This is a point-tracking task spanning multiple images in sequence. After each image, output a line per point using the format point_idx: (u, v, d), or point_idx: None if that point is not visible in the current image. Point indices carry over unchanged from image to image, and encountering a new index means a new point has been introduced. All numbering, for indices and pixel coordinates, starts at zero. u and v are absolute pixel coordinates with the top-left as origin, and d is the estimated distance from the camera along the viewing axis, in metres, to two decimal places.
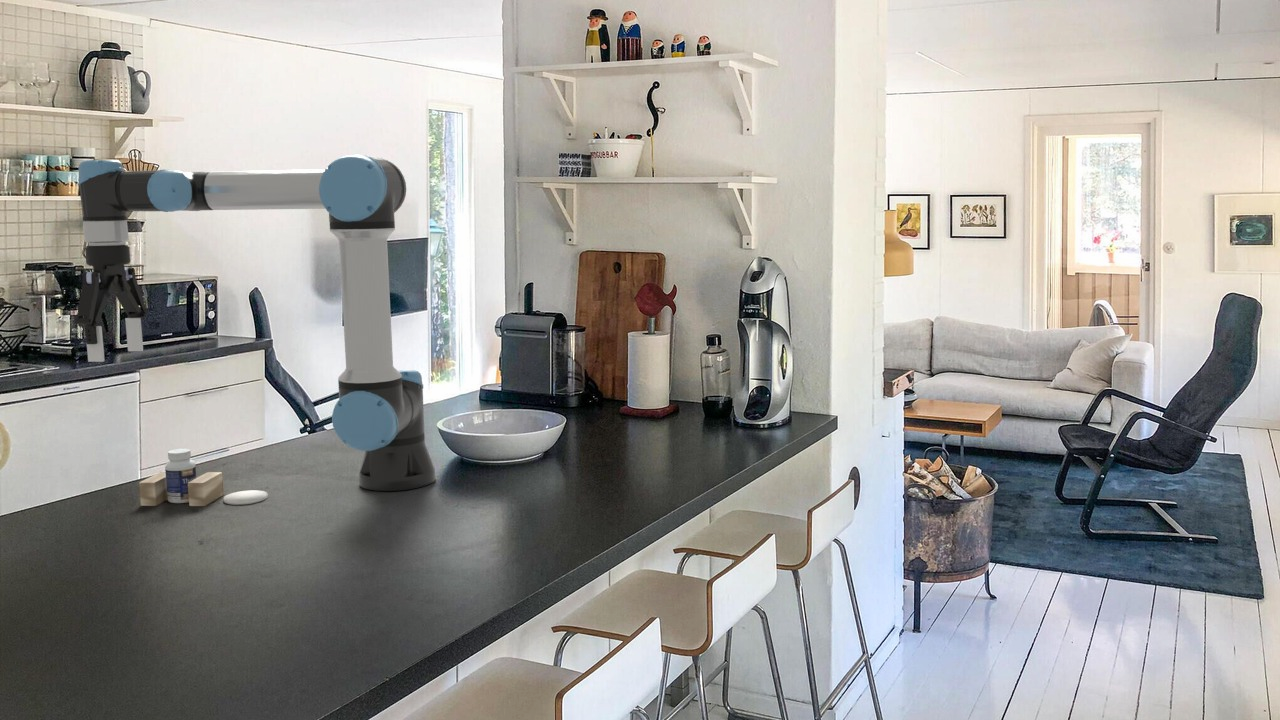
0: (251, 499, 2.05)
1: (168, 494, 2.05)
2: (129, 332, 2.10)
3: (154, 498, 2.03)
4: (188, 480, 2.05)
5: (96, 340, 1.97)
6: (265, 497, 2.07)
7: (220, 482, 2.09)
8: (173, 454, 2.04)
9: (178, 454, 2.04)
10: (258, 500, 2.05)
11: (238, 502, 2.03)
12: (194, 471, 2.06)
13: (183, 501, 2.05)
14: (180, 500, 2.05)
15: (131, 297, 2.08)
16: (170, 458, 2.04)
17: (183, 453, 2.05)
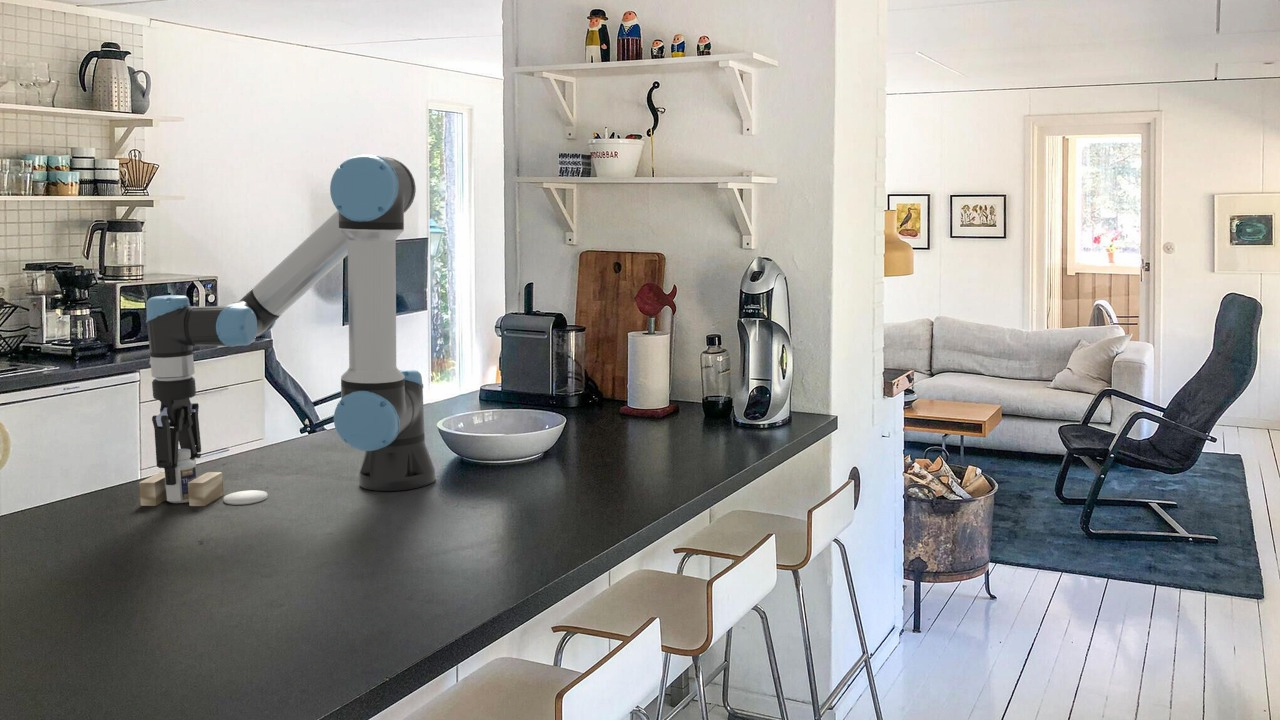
0: (251, 499, 2.05)
1: None
2: None
3: (154, 498, 2.03)
4: (188, 480, 2.05)
5: (175, 481, 2.03)
6: (265, 497, 2.07)
7: (220, 482, 2.09)
8: None
9: None
10: (258, 500, 2.05)
11: (238, 502, 2.03)
12: (194, 471, 2.06)
13: (183, 501, 2.05)
14: None
15: (191, 433, 2.08)
16: None
17: (183, 453, 2.04)
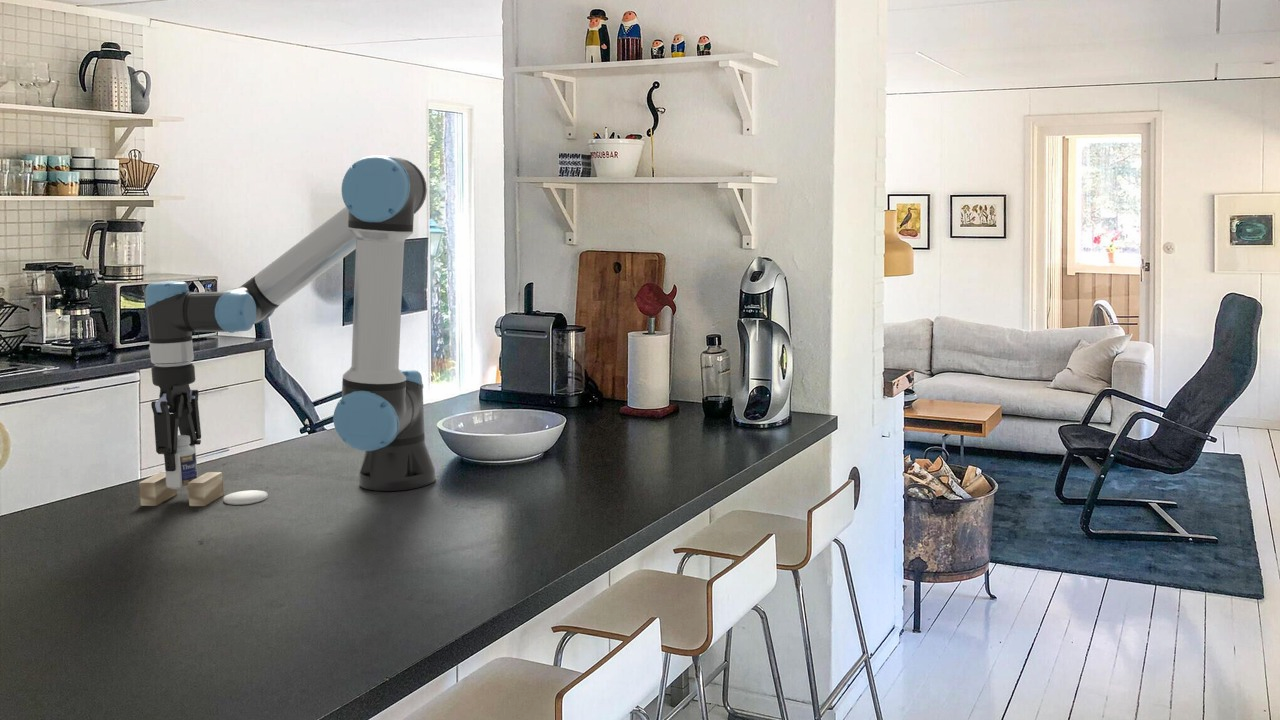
0: (251, 499, 2.05)
1: None
2: None
3: (154, 498, 2.03)
4: (188, 466, 2.05)
5: (175, 467, 2.03)
6: (265, 497, 2.07)
7: (220, 482, 2.09)
8: None
9: (177, 440, 2.04)
10: (258, 500, 2.05)
11: (238, 502, 2.03)
12: (194, 457, 2.06)
13: (183, 487, 2.05)
14: None
15: (190, 420, 2.08)
16: None
17: (183, 439, 2.04)
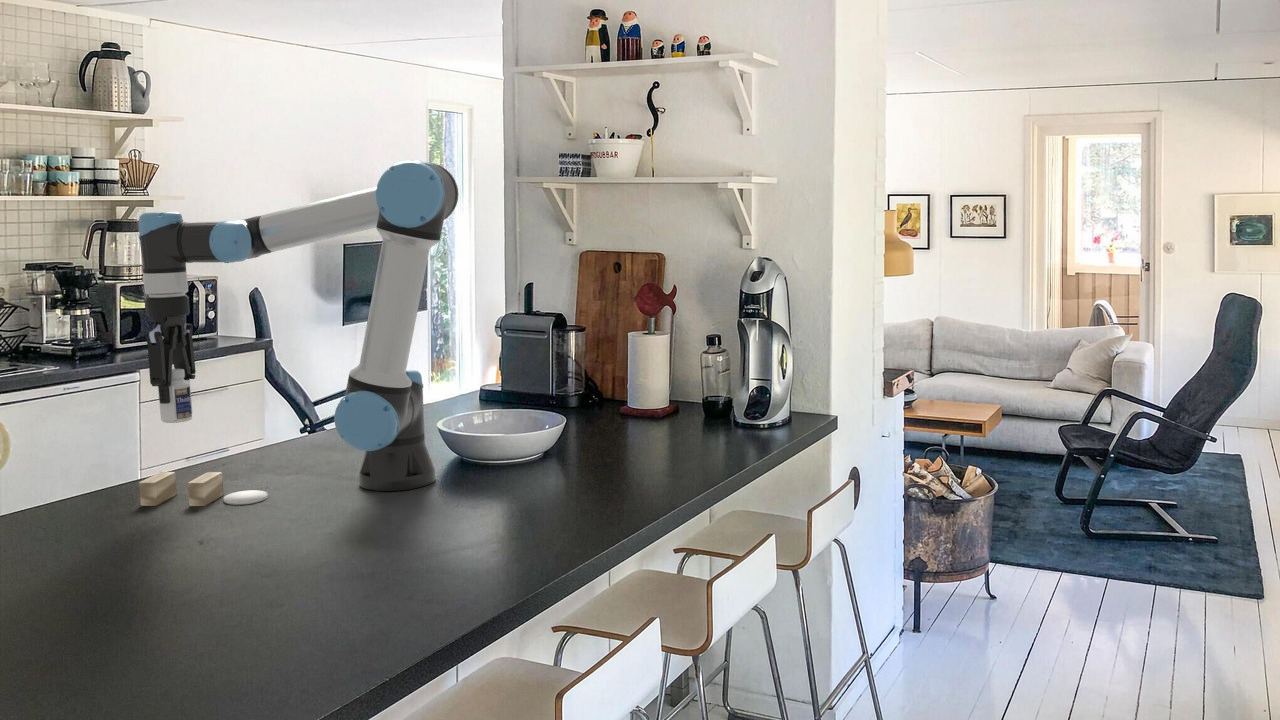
0: (251, 499, 2.05)
1: None
2: None
3: (154, 498, 2.03)
4: (182, 399, 2.03)
5: (169, 400, 2.01)
6: (265, 497, 2.07)
7: (220, 482, 2.09)
8: None
9: None
10: (258, 500, 2.05)
11: (238, 502, 2.03)
12: (188, 391, 2.04)
13: (177, 421, 2.02)
14: (174, 420, 2.02)
15: (185, 354, 2.06)
16: None
17: (177, 372, 2.02)
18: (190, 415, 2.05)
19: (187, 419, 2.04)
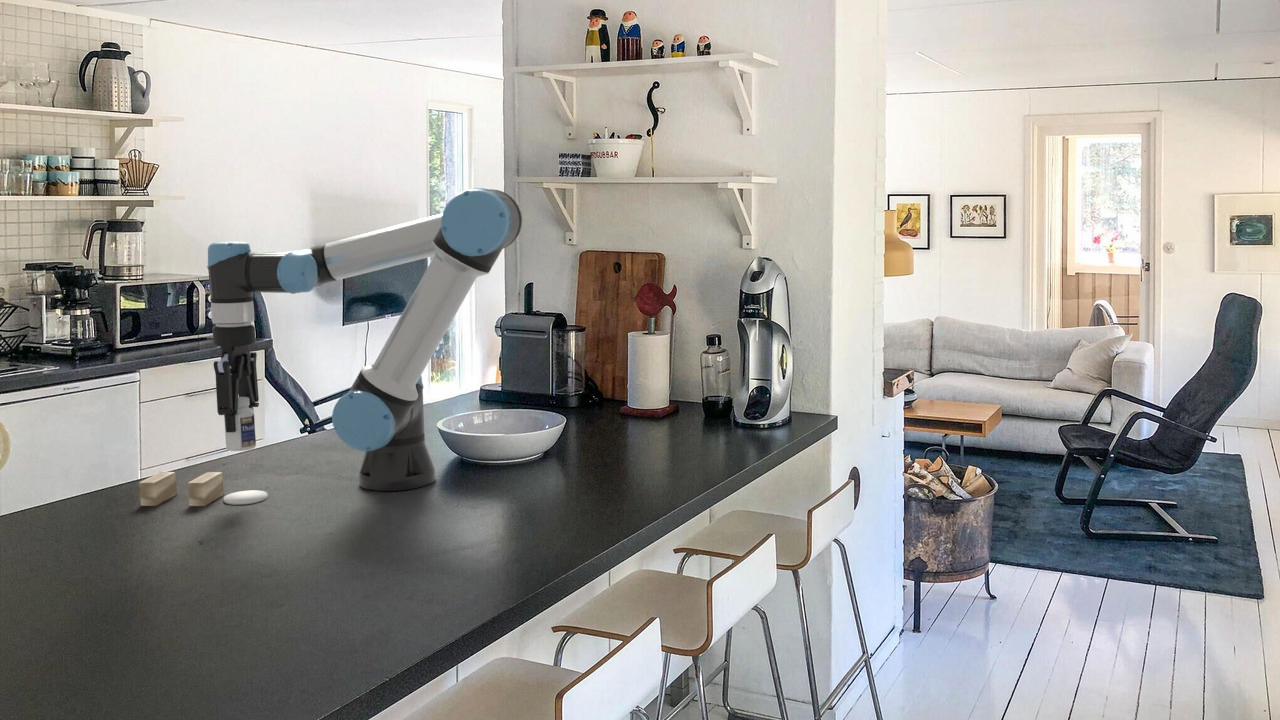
0: (251, 499, 2.05)
1: None
2: None
3: (154, 498, 2.03)
4: (247, 428, 2.04)
5: (235, 428, 2.02)
6: (265, 497, 2.07)
7: (220, 482, 2.09)
8: None
9: None
10: (258, 500, 2.05)
11: (238, 502, 2.03)
12: (253, 419, 2.05)
13: (242, 449, 2.04)
14: None
15: (249, 382, 2.07)
16: None
17: (242, 400, 2.03)
18: (254, 443, 2.06)
19: (252, 447, 2.05)
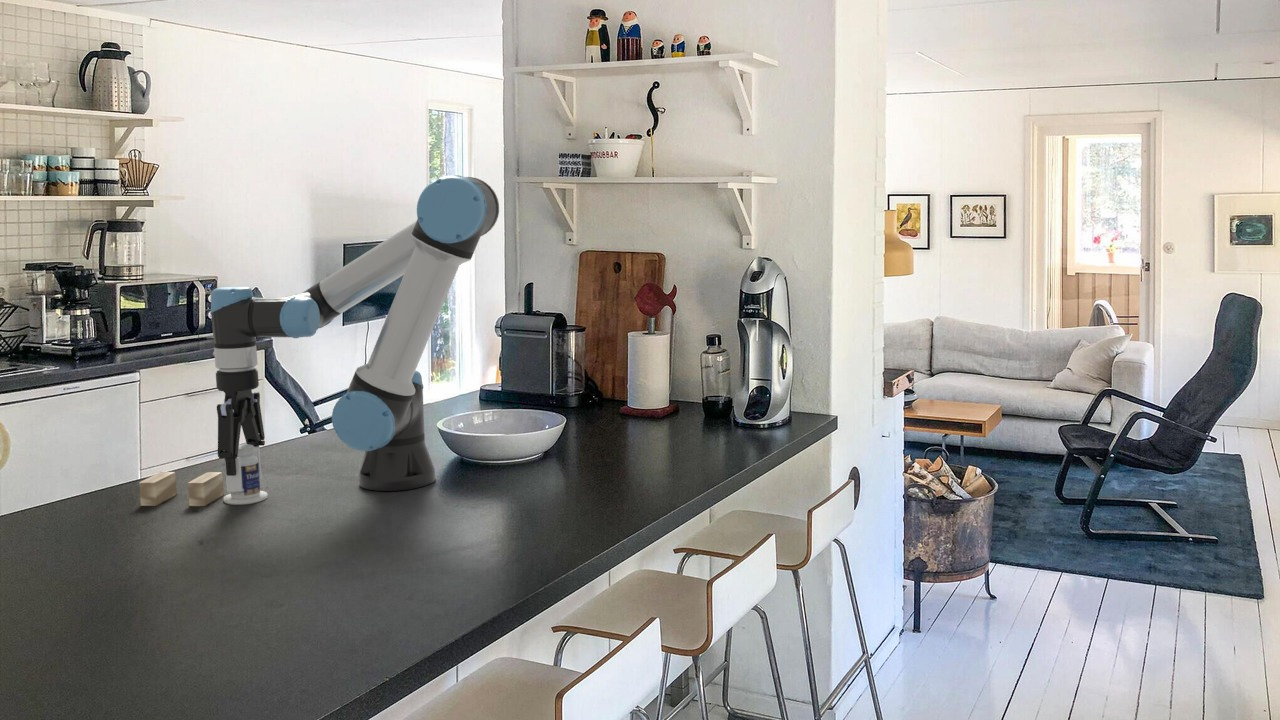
0: (251, 499, 2.05)
1: None
2: None
3: (154, 498, 2.03)
4: (252, 476, 2.05)
5: (235, 472, 2.02)
6: (265, 497, 2.07)
7: (220, 482, 2.09)
8: None
9: (241, 450, 2.04)
10: (258, 500, 2.05)
11: (238, 502, 2.03)
12: (257, 467, 2.06)
13: (246, 497, 2.05)
14: (244, 496, 2.05)
15: (254, 423, 2.09)
16: None
17: (247, 449, 2.05)
18: (259, 490, 2.07)
19: (256, 495, 2.06)
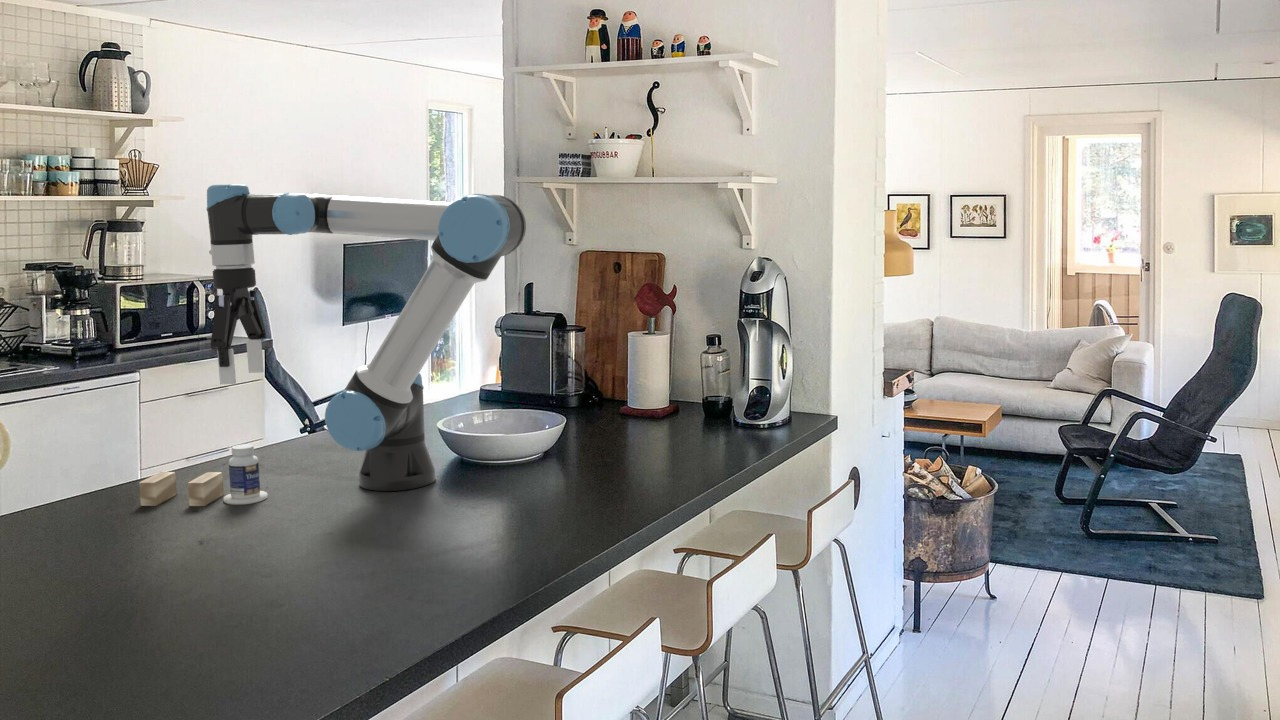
0: (251, 499, 2.05)
1: (231, 489, 2.05)
2: (250, 353, 2.12)
3: (154, 498, 2.03)
4: (252, 476, 2.05)
5: (229, 363, 1.98)
6: (265, 497, 2.07)
7: (220, 482, 2.09)
8: (237, 449, 2.04)
9: (242, 450, 2.04)
10: (258, 500, 2.05)
11: (238, 502, 2.03)
12: (257, 467, 2.06)
13: (246, 497, 2.05)
14: (244, 496, 2.05)
15: (254, 319, 2.09)
16: (234, 453, 2.04)
17: (247, 449, 2.05)
18: (259, 490, 2.07)
19: (256, 495, 2.06)
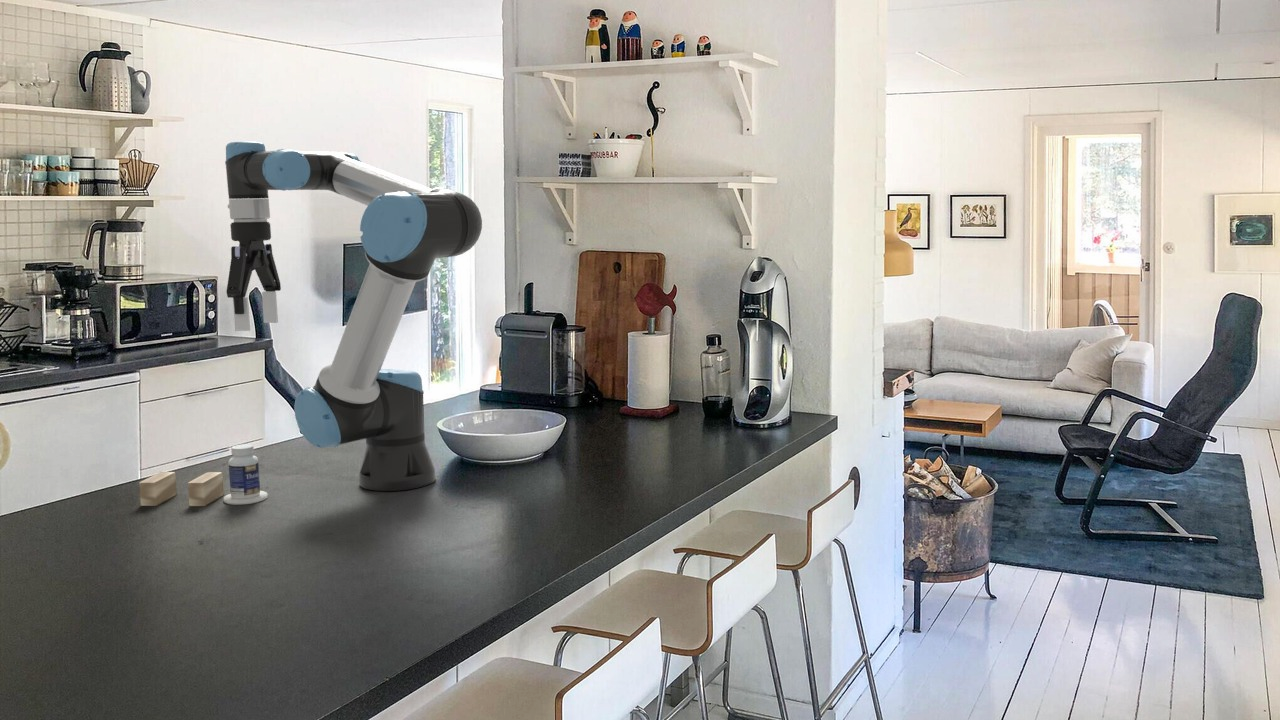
0: (251, 499, 2.05)
1: (231, 490, 2.05)
2: (266, 304, 2.23)
3: (154, 498, 2.03)
4: (251, 476, 2.05)
5: (243, 311, 2.10)
6: (265, 497, 2.07)
7: (220, 482, 2.09)
8: (237, 449, 2.04)
9: (241, 450, 2.04)
10: (258, 500, 2.05)
11: (238, 502, 2.03)
12: (257, 467, 2.06)
13: (246, 497, 2.05)
14: (243, 496, 2.05)
15: (269, 271, 2.21)
16: (234, 453, 2.04)
17: (247, 449, 2.05)
18: (258, 490, 2.07)
19: (256, 495, 2.06)
